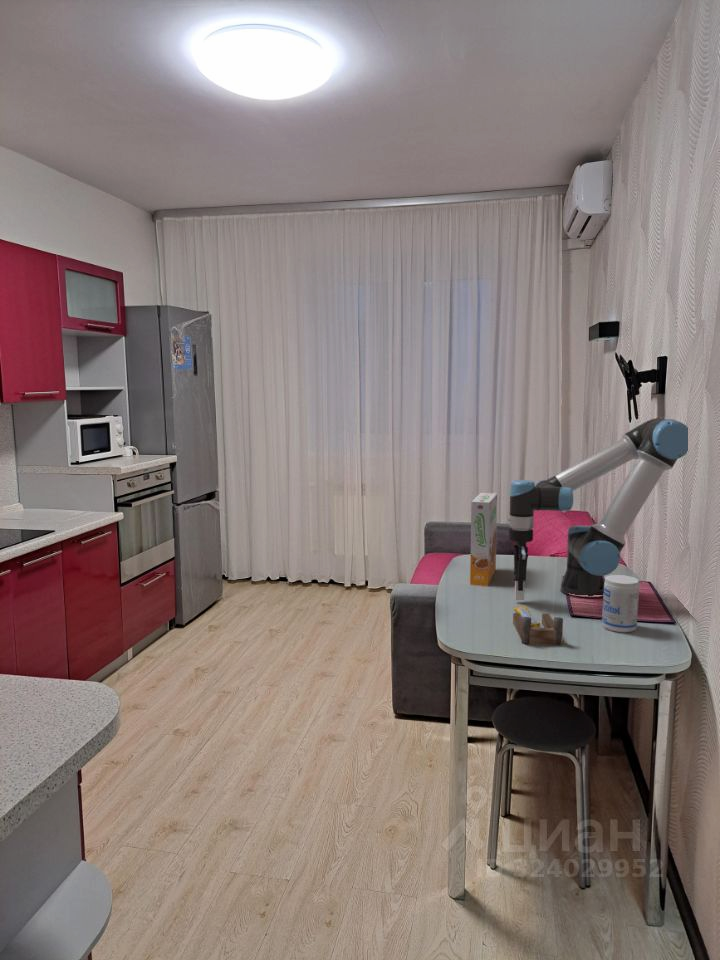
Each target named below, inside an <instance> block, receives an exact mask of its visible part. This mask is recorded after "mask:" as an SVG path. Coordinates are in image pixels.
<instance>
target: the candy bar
mask: <svg viewBox="0 0 720 960" xmlns="http://www.w3.org/2000/svg"><path fill="white" fill-rule="evenodd" d="M513 610H514V611H515V613H520V614H521V616H522V618H523V617H530V618H531V628H540V627H541V623H540V622H539V623H538V622H537V621H536V620H535V618H534V617H533V616H532V615H531V613H530V611H529V610H528V606H514V607H513Z"/></svg>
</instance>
